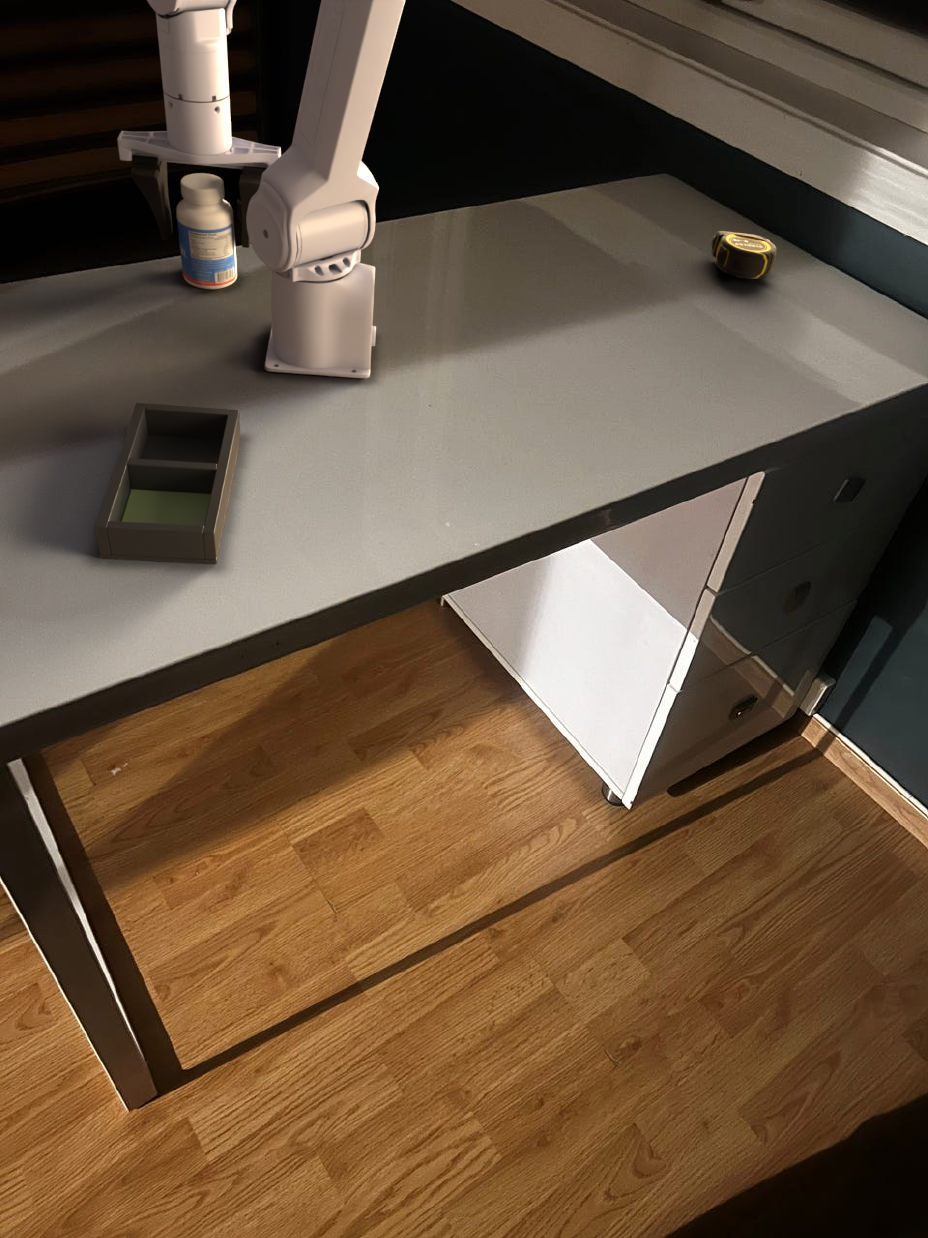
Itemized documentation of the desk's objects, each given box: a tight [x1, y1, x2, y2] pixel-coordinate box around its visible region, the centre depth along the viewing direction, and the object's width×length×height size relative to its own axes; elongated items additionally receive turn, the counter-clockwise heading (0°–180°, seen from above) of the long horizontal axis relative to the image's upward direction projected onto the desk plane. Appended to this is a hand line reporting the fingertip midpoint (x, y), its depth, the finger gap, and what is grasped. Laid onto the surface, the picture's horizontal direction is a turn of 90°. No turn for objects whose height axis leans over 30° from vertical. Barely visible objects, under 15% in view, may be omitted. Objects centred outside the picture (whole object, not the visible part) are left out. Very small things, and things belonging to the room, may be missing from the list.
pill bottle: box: [175, 172, 238, 290], centre depth 96 cm, size 6×5×10 cm
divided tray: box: [94, 402, 242, 565], centre depth 74 cm, size 8×15×3 cm, turn 3°
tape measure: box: [710, 230, 778, 280], centre depth 113 cm, size 7×7×4 cm
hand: (207, 239), depth 97 cm, fingers open, 7 cm apart
